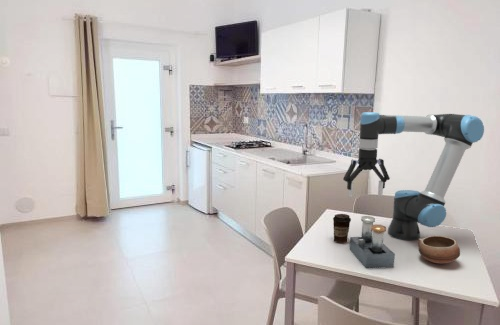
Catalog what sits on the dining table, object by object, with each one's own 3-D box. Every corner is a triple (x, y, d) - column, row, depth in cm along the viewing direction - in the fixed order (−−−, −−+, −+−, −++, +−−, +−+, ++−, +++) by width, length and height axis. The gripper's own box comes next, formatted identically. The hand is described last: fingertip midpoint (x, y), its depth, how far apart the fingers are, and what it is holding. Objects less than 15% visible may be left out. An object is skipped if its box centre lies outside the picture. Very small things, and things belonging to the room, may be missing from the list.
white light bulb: (370, 237, 173) (371, 215, 171) (375, 242, 167) (377, 220, 165) (357, 237, 172) (359, 216, 170) (362, 242, 166) (364, 220, 164)
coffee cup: (349, 245, 178) (351, 219, 176) (331, 243, 180) (333, 217, 177) (348, 238, 187) (350, 213, 184) (331, 237, 188) (333, 212, 186)
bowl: (412, 252, 171) (414, 232, 169) (447, 253, 171) (449, 232, 169) (426, 269, 156) (429, 246, 154) (465, 270, 155) (468, 247, 153)
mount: (374, 248, 175) (375, 236, 174) (393, 267, 157) (394, 254, 155) (349, 249, 174) (350, 237, 173) (365, 268, 155) (366, 254, 154)
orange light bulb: (380, 246, 162) (382, 224, 160) (386, 252, 156) (388, 229, 154) (367, 247, 161) (369, 224, 159) (373, 253, 156) (374, 229, 154)
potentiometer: (363, 243, 165) (363, 238, 165) (365, 246, 162) (366, 240, 162) (357, 244, 165) (357, 238, 164) (359, 246, 162) (359, 240, 162)
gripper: (391, 146, 167) (388, 192, 171) (337, 147, 164) (335, 194, 168) (400, 149, 160) (396, 197, 164) (343, 150, 157) (341, 199, 161)
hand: (365, 196), depth 166 cm, fingers open, 13 cm apart
